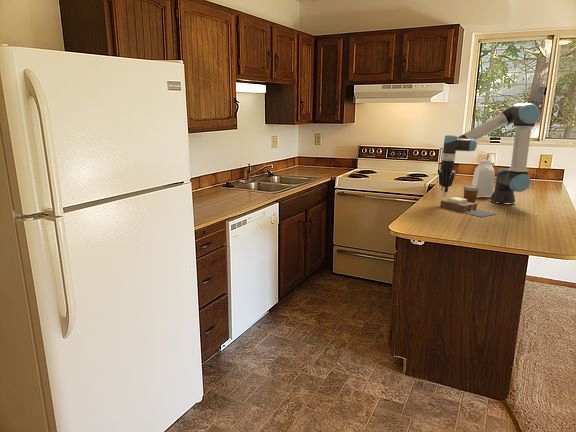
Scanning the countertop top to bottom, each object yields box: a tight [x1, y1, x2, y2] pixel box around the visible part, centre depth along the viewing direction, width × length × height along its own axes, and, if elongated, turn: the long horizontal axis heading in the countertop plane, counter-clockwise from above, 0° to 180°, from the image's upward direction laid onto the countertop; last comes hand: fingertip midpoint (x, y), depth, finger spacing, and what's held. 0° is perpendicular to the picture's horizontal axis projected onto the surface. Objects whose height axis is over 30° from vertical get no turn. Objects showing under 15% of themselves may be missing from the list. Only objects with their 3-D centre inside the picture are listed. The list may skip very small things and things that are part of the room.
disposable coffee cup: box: [463, 184, 479, 203], centre depth 278 cm, size 10×10×12 cm
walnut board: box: [439, 199, 478, 213], centre depth 267 cm, size 14×16×4 cm
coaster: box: [447, 196, 467, 204], centre depth 267 cm, size 8×8×2 cm
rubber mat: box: [462, 209, 496, 218], centre depth 255 cm, size 15×12×1 cm
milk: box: [471, 159, 496, 196], centre depth 306 cm, size 12×12×26 cm
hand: (443, 196), depth 275 cm, fingers closed
